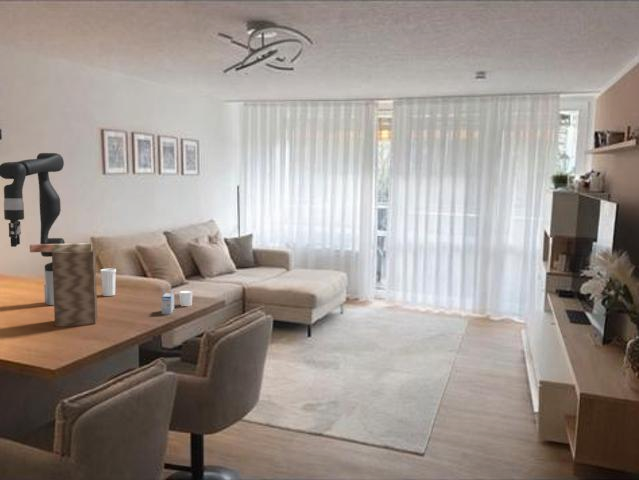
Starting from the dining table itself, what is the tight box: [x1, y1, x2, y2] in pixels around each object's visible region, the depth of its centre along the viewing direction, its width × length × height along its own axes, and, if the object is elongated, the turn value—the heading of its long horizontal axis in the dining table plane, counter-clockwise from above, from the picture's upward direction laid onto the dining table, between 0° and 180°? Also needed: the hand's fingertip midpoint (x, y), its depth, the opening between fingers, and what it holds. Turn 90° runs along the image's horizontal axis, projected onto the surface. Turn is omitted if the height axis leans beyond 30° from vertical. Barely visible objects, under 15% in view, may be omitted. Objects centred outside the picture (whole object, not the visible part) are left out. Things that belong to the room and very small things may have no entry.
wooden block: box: [29, 242, 93, 253], centre depth 227 cm, size 24×4×3 cm, turn 109°
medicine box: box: [161, 292, 175, 315], centre depth 251 cm, size 8×4×9 cm, turn 5°
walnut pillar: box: [51, 248, 98, 327], centre depth 230 cm, size 16×11×32 cm
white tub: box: [178, 290, 193, 307], centre depth 266 cm, size 7×7×7 cm
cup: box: [99, 267, 117, 297], centre depth 284 cm, size 8×8×14 cm
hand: (15, 245), depth 231 cm, fingers open, 8 cm apart
